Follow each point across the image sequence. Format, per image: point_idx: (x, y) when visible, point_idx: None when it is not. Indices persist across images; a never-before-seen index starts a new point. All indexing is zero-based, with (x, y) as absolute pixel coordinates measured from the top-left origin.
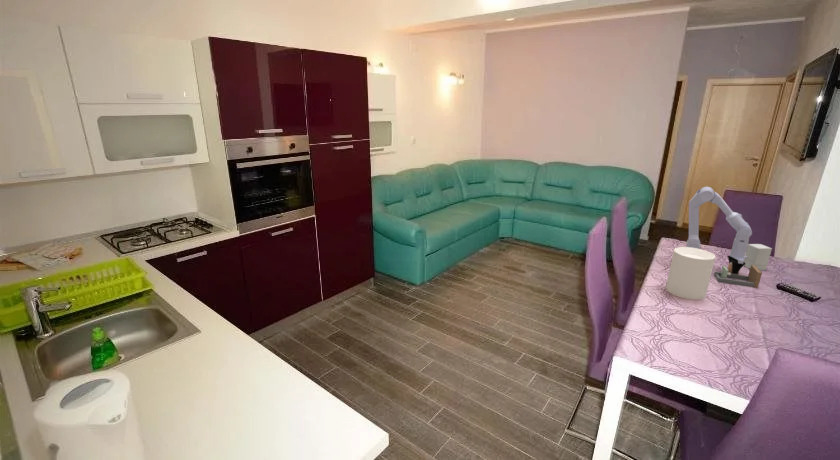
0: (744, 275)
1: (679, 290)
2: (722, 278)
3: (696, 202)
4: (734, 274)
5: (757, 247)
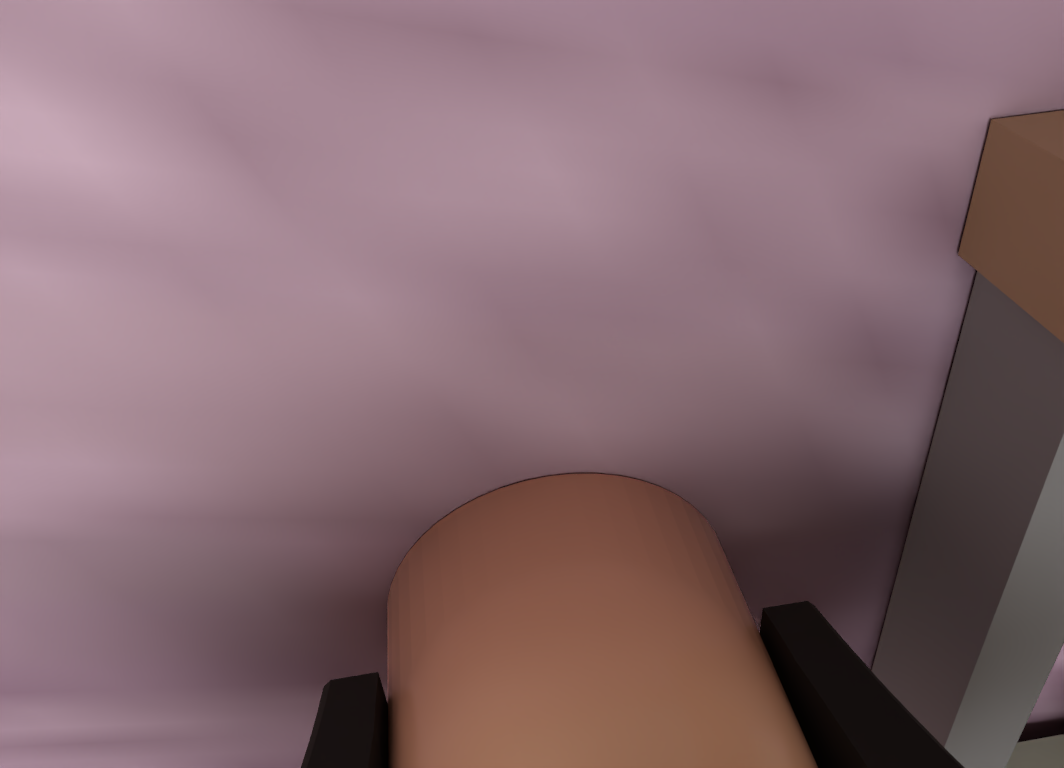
0: (1052, 462)
1: None
2: None
3: None
4: (1006, 687)
5: None
